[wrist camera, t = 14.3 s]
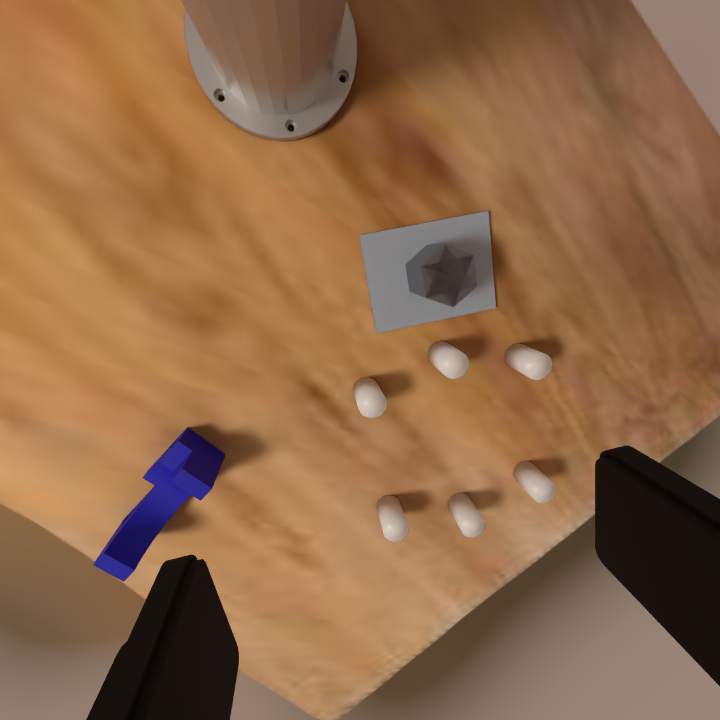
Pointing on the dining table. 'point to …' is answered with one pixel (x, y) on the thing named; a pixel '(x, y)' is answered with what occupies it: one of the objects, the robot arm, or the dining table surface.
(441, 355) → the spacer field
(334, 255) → the dining table surface
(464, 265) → the grey faceted polyhedron
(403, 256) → the mat
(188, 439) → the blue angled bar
